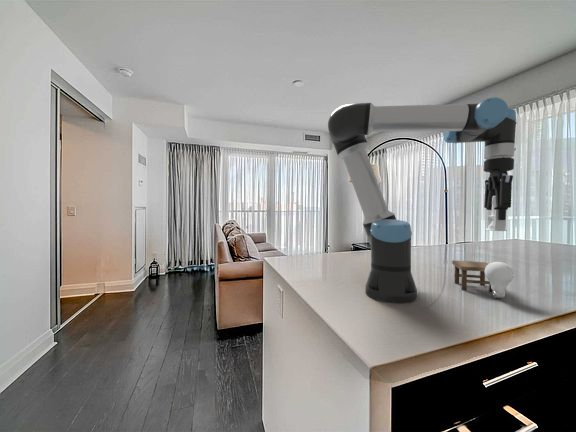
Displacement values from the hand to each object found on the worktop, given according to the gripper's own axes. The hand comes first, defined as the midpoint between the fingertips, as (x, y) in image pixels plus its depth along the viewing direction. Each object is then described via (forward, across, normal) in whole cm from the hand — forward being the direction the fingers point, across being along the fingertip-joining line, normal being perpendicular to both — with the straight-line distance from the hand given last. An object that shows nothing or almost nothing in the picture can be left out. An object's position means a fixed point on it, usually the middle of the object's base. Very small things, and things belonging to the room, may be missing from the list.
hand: (495, 229), depth 82 cm
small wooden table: (+20, 0, +5) cm, 21 cm away
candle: (0, 0, 0) cm, 1 cm away
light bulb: (+20, -10, +2) cm, 23 cm away
